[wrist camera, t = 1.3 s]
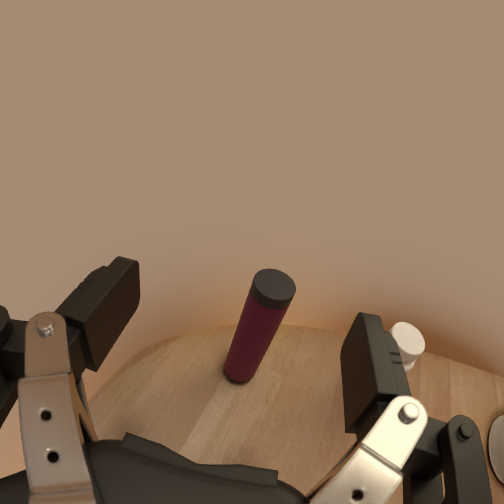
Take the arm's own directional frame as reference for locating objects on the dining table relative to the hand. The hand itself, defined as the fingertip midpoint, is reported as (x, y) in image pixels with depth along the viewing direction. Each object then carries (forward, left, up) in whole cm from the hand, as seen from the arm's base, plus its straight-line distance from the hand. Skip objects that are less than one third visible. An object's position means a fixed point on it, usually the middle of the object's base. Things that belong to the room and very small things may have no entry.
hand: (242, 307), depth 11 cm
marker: (+7, +5, -19) cm, 21 cm away
